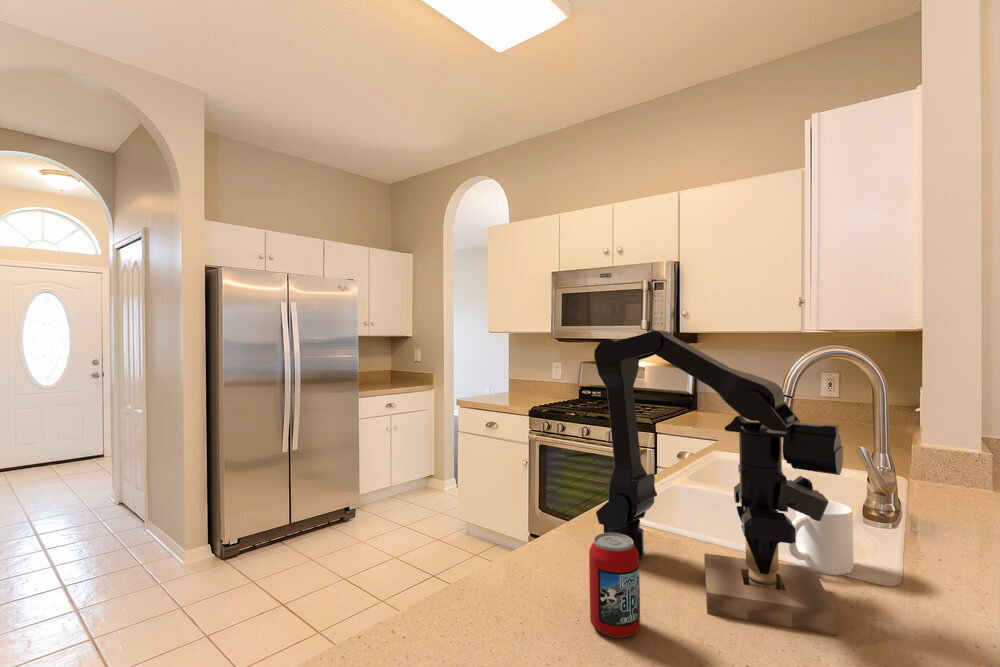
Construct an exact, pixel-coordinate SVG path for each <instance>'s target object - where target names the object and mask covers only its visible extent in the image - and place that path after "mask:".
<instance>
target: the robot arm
mask: <svg viewBox="0 0 1000 667" xmlns="http://www.w3.org/2000/svg"><path fill="white" fill-rule="evenodd" d="M593 351H594V353H593V357H594V362H595V366H596V369H597V370H596V371H597V373H598V376H599V377H600V380H601V381H602V383H603V385H604V386H605V388H606V393H607V401H608V402H607V404H608V413H609V421H610V422H609V424H610V433H611V441H612V442H611V443H612V453H613V454H612V455H613V464H614V466H613V471H612V474H611V477H610V480H609V484H608V499H607V500H608V501H606V503H605V504H603V505H602V506H601V507H600V508H598V510H596V511H595V513H596V518H597V522H598V524H599V525H602V526H603V533H618V534H623V535H626V536H628V537H630V538H631V539H632V540H633V542H634V545H635V547H636V549H637V551H638V553H639V562H640V561H641V557H643V555H644V552H645V550H644V549H645V547H644V546H645V544H644V542H645V540H644V529H643V528H642V527H641V519H643V518H645V515H646V513H647V511H649V510H650V509H651V508H652V506H653V505H654V503H655V497H657V496H658V493H657V491H656V486H655V482H656V481H655V480H656V478H655V473H647V471H646V470H645V468H644V466H643V464H642V459H641V450H640V440H639V428H638V421H637V410H636V401H635V400H636V399H635V392H634V391H635V390H634V385H635V381H636V379H637V375H638V372H639V366H640V365H639V363H640V360H644V359H648V358H650V357H652V356H657V357H659V358H660V359H662V360H664V361H665V362H667V363H669V364H671V365H672V366H674V367H675V368H677V369H679V370H681V371H683V372H684V373H685V374H687V375H689V376H691V377H693V378H694V379H696V380H698V381H699V382H700V383H702V384H705V385H706V386H708V387H709V388H711V389H712V390H713V391H714V392H716V393H717V394H718V395H719V397H720V398H721V400H723V401H724V403H725V404H727V405H728V406H729V407H730V408H731V409H732V410H734V412H736V413H737V414H739V415H736V416H734V417H733V419H732V421H731V422H730V423H728V424H727V425H725V426H724V428H723V429H724V430H725V431H726V432H732V433H738V435H739V436H738V437H739V438H738V439H739V440H738V441H739V442H738V443H739V446H738V447H739V448H738V449H739V464H738V466H737V467H738V468H737V469H738V474H739V483H737V484H736V485H735V486H734V487H733V498H734V503H735V504H739V503H740V505H736V510H737V514H738V516H739V517H738V518H739V519H740V521H741V525H740V526H741V529H742V530H741V531H742V533H743V536H744V537H745V541H746V540H747V543H748V545H749V547H750V550H751V552H752V554H753V557H754V559H755V562H756V564H757V567H758V569H759V571H760V573H761V574H769V570H770V567H771V563H772V560H773V556H774V553H775V549H776V546H777V544H778V545H779V544H780V543H783V544H787V543H791V544H792V543H796V538H795V527H794V525H793V524H792V522H793V521H792V520H791V519H790V518H789V517H788V516H787V515H786V514H785V512H786V513H788V512H789V511H788V510H789V508H790V509H791V510H794V511H795V512H796V511H798V512H800V513H803V514H805V515H808V516H810V517H811V518H812V519H814V520H816V521H821V519H822V516H823V514H824V512H825V509H826V507H827V504H828V502H829V501H830V500H829V501H828V499H827V498H826V497H825V495H824V494H822V493H821V492H820V491H819V490H816V489H815V490H814V486H813V483H812V481H811V479H809V478H806V477H804V476H802V475H799V476H798V477H797V478H795V479H793V480H791V479H789V480H788V479H787V476H786V475H784V472H783V467H782V466H783V464H782V463H783V462H782V461H783V460H784V461H786V464H789V465H790V466H791V468H792V469H797V470H802V471H807V472H816V473H823V474H829V475H835V476H840V475H841V474H842V471H843V470H842V469H843V465H844V446H842V439H841V436H840V434H839V433H840V432H839V430H840V429H839V425H837V424H831V423H826V424H825V423H823V424H818V423H817V424H816V423H806V422H804V423H803V422H801V420H800V419H799V418H798V416H797V415H796V414H795V412H794V411H793V410H792V409H791V407H789V405H788V404H787V402H786V400H785V398H786V397H785V394H784V392H783V389H782V388H781V386H780V385H779V384H777V383H776V382H774V381H772V380H769V379H767V378H764V377H762V376H761V377H760V376H758V375H756V374H752V373H749V372H746V371H743V370H742V371H741V370H738V369H735V368H732V367H729V366H728V365H726V364H724V363H723V362H721V361H719V360H717V359H716V358H714V357H711V356H710V355H708V354H706V353H704V352H702V351H700V350H699V349H697V348H695V347H694V346H691V345H690V344H688V343H687V342H684V341H682V340H681V339H679V338H678V337H675V336H673V335H672V333H671V332H669V331H666V330H661V329H659V330H658V329H653V330H650V331H649V330H648V331H647V332H644V333H642V334H639V335H635V336H631V337H630V336H629V337H626V338H622V339H621V338H620V339H617V338H616V339H612V338H611V339H608V338H607V339H604V340H602V341H600V342H599V343H598V345H596V347H595V348H594V350H593ZM782 456H783V459H782ZM796 544H797V543H796Z"/></svg>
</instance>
